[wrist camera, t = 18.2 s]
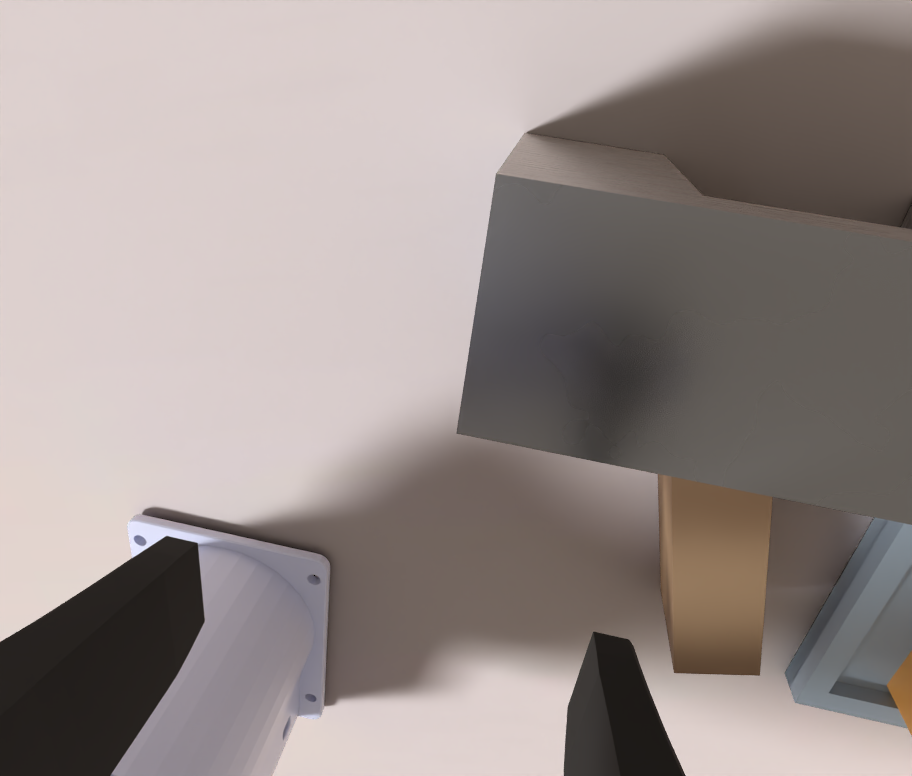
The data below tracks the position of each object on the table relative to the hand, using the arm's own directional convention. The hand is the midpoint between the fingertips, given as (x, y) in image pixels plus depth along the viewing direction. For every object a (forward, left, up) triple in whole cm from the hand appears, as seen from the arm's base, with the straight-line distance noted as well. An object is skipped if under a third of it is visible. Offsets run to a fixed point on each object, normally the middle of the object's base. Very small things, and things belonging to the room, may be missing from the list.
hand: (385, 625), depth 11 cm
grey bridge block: (+5, -7, -9) cm, 13 cm away
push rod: (0, -7, -10) cm, 12 cm away
